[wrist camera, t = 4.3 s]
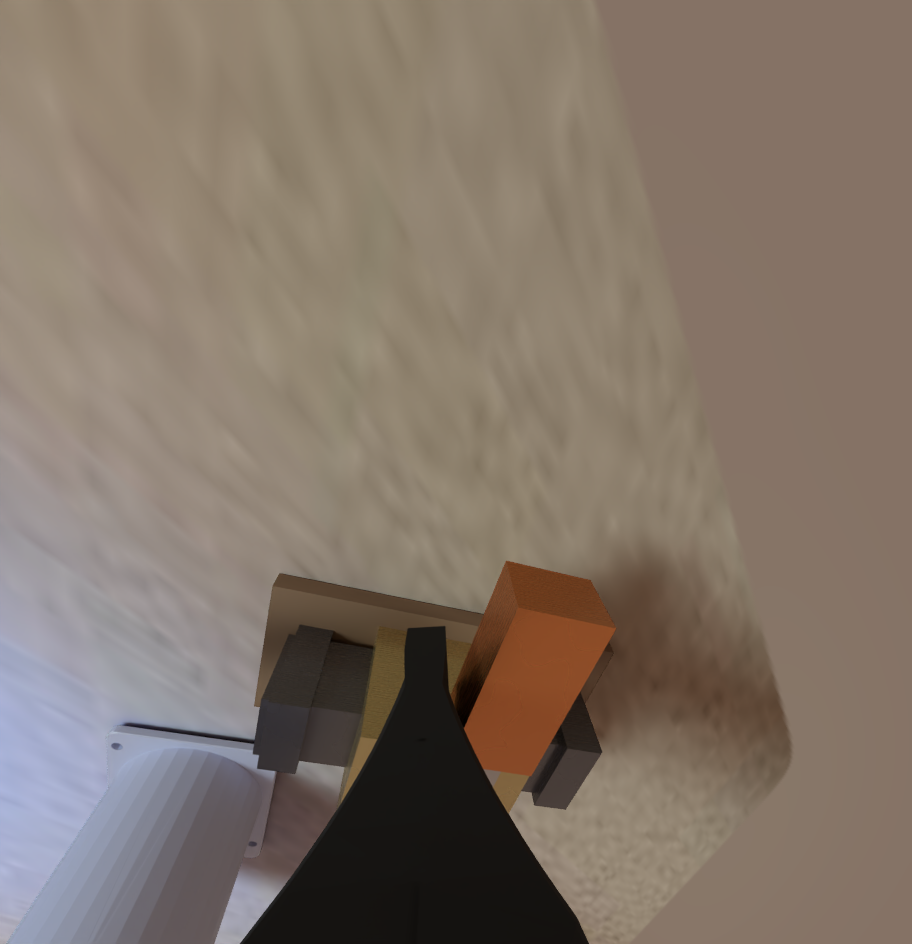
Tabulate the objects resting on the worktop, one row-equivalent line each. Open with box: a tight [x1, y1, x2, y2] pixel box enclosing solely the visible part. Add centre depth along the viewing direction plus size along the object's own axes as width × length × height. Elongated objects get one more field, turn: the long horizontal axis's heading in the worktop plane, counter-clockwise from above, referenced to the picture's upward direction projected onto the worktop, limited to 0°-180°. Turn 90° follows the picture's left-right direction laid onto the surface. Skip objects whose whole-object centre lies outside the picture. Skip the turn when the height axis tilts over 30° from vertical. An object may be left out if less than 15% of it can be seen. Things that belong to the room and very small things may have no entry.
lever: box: [451, 561, 616, 786], centre depth 12 cm, size 12×3×2 cm, turn 163°
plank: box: [254, 574, 614, 707], centre depth 19 cm, size 7×15×1 cm, turn 74°
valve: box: [253, 625, 602, 814], centre depth 17 cm, size 5×13×5 cm, turn 74°
